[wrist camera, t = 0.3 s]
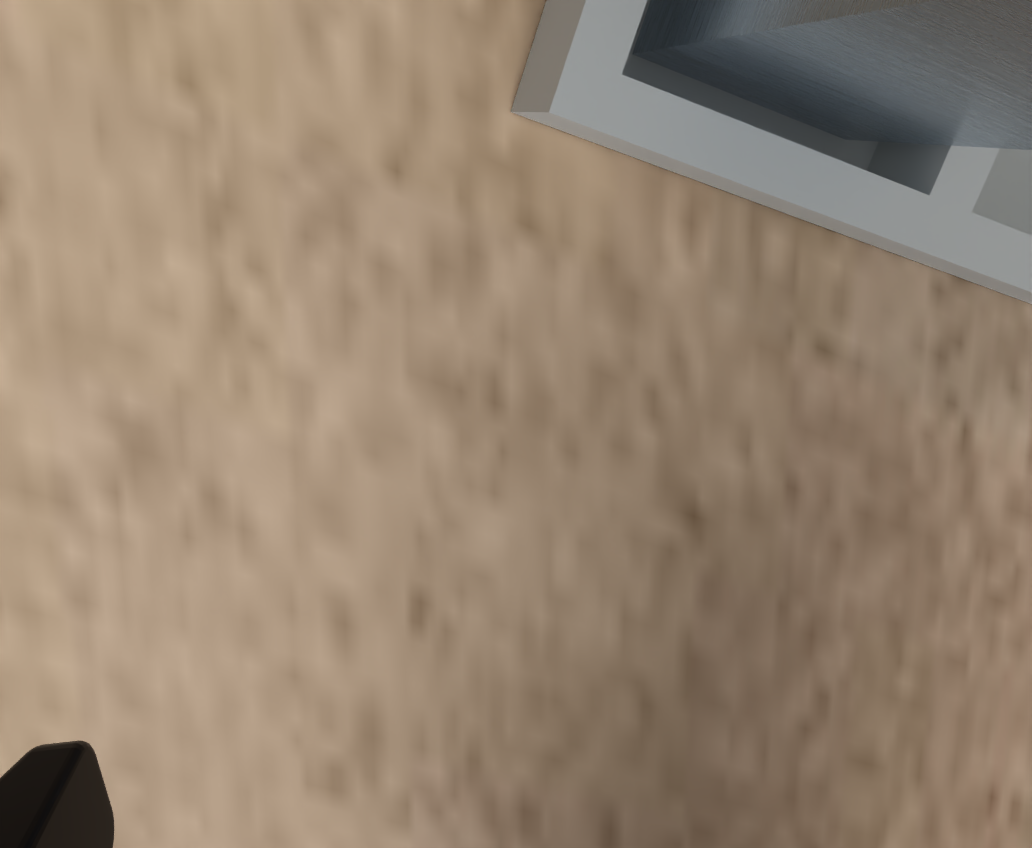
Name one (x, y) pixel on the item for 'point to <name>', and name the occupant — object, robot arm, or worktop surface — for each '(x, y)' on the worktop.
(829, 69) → the brushed metal pillar
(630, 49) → the rack
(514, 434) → the worktop surface
